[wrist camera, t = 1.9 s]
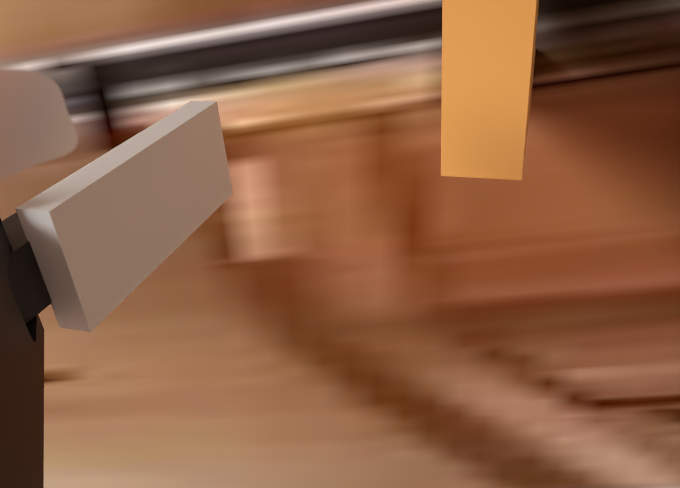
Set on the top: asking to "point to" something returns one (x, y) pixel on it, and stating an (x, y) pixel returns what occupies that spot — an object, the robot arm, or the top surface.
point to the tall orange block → (486, 86)
